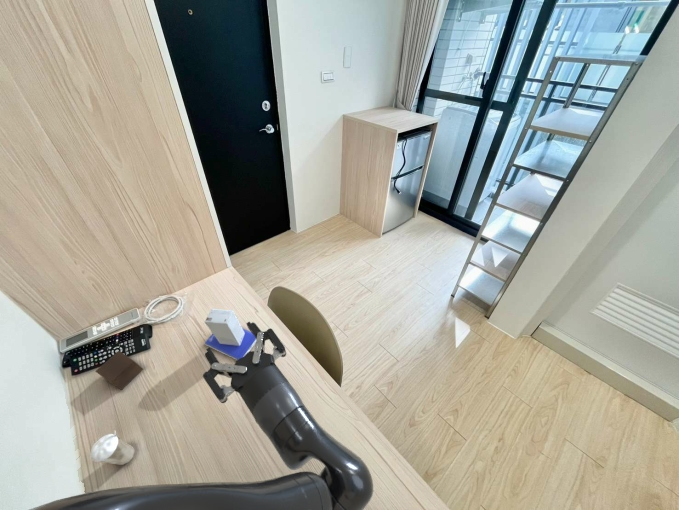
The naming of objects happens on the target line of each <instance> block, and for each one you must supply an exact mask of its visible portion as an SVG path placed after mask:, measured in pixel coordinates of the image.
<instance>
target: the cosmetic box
mask: <svg viewBox="0 0 679 510" xmlns="http://www.w3.org/2000/svg"><path fill="white" fill-rule="evenodd" d="M204 323H205V325H206V326H207V328H208V329H209V330H210V332H211V333H212V334H214V336H215V337H216V339H217V340H218V341H219V343H220V344H226V345H236V346H240V344H241V342H242V340H243V337H244V335H245V333H244V331H243V329H244V328H243V327H242V325H241V323H240V321H239V319H238V317H237V316H236V313H235V311H234V310H233V309H219V308H211V309H210V310H209V313H208V314H207V317H206V318H205V321H204Z"/></svg>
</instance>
